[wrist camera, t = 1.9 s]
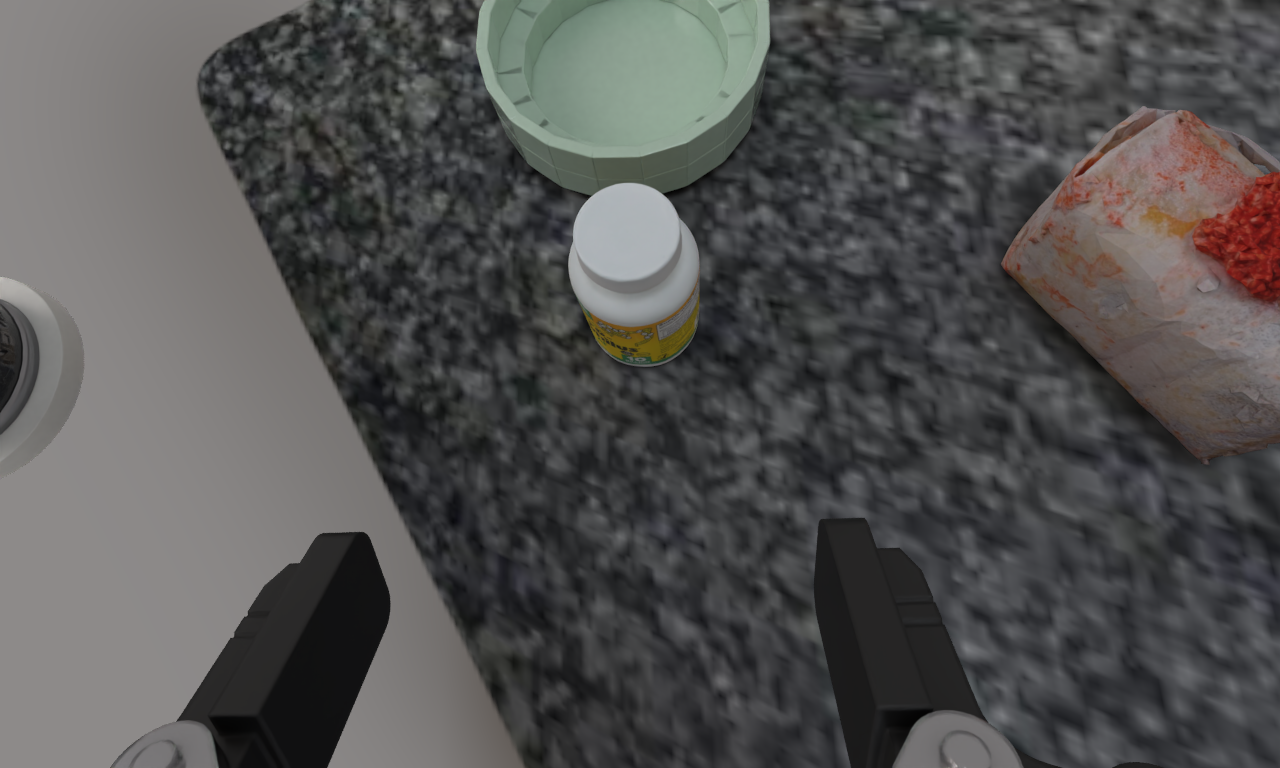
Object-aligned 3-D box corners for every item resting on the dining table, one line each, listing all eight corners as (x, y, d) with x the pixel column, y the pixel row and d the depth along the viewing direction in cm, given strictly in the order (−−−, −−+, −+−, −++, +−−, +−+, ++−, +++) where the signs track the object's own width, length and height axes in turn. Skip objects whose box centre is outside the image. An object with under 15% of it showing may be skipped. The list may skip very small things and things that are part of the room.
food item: (963, 262, 35) (1068, 149, 25) (1082, 168, 35) (1227, 24, 26) (1182, 481, 31) (1398, 448, 22) (1307, 373, 32) (1568, 295, 23)
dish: (536, 238, 36) (515, 194, 32) (474, 20, 40) (448, -46, 36) (797, 159, 37) (812, 105, 32) (713, -52, 40) (716, -126, 36)
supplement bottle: (720, 316, 35) (732, 228, 25) (644, 392, 34) (627, 330, 25) (643, 247, 36) (627, 139, 27) (568, 319, 35) (524, 234, 26)
